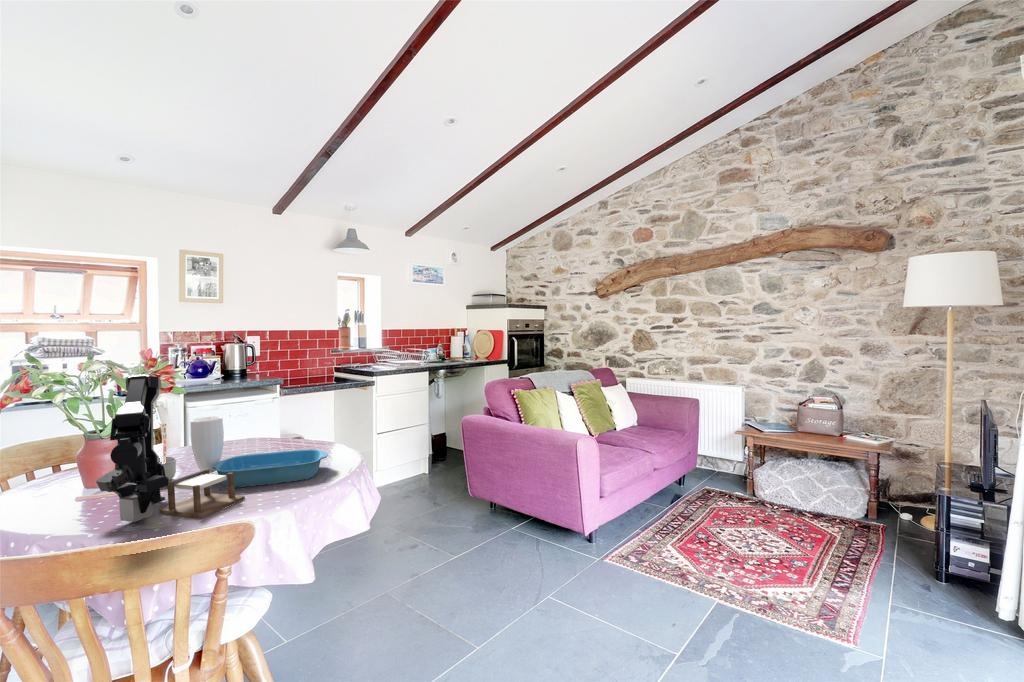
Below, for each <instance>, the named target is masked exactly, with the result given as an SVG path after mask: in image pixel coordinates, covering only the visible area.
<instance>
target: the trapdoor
mask: <svg viewBox="0 0 1024 682" xmlns="http://www.w3.org/2000/svg"><path fill="white" fill-rule="evenodd" d="M224 480H227V476H226V475H218V474H214V473H213V474H212V473H210V474H205V475H203V474H202V475H199V476H197V477H194V478H191V479H188V480H185V481H182V482H179V483H176V484H175V485H176V489H180V490H191V491H193V486H195V485H200V490H202V489H203V490H204V488H205V487H208V486H210V487H211V486H213V485H216V484H219V483H222V482H221V481H224Z"/></svg>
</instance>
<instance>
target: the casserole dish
mask: <svg viewBox="0 0 1024 682" xmlns="http://www.w3.org/2000/svg"><path fill="white" fill-rule="evenodd" d="M328 455H329V453H328V452H327V451H322V450H321V449H316V448H315V449H297V450H296V449H295V450H286V451H285V450H283V451H272V452H261V453H252V454H242V455H236V456H235V455H234V456H231V457H228V458H225V459H223V460H220V462H217V463H215V464H214V465H213V466H212V468H213V469H216V470H217V471H216V472H217V475H226V476H227V474H228V473H234V489H235V488H246V487H247V486H248V487H257V486H256V485H258V486H266V485H265V484H268V485H274V484H273V483H277V484H282V483H281V482H286V483H291V482H290V481H294V482H298V481H297V480H301V481H304V480H303V479H306V480H308V479H307V478H310V479H312V478H313V477H314V476H316V474H317V473H318V470H319V469H320V465H321V460H325V459H327V457H328ZM311 477H312V478H311ZM220 483H222V485H224V486H226V487H228V477H227V480H224V481H221V482H220Z"/></svg>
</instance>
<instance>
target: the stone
mask: <svg viewBox="0 0 1024 682" xmlns="http://www.w3.org/2000/svg"><path fill="white" fill-rule="evenodd" d="M118 501H119V504H118V505H119V519H120V521H123V522H131V523H132V522H133V523H135V522H137V521H140V520H143V519H146V518H147V517H150V516H152V515H153V512H152V511H153V507H152V504H151V502H150V504H149V506H148V508H147V510H146V512H145V513H141V512H140V508H139V501H138V496H137V495H135V494H132V495H129V496H126V497H123V498H119V499H118Z"/></svg>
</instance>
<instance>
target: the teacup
mask: <svg viewBox="0 0 1024 682" xmlns="http://www.w3.org/2000/svg"><path fill="white" fill-rule="evenodd" d="M165 457H166V463H165V464H162V465H163V466H164V468H165V474H166V477H168V478H169V480H170V481H172V480H173V479H174V477H175V475H176V471H177V458H176V457H174V456H165Z"/></svg>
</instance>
